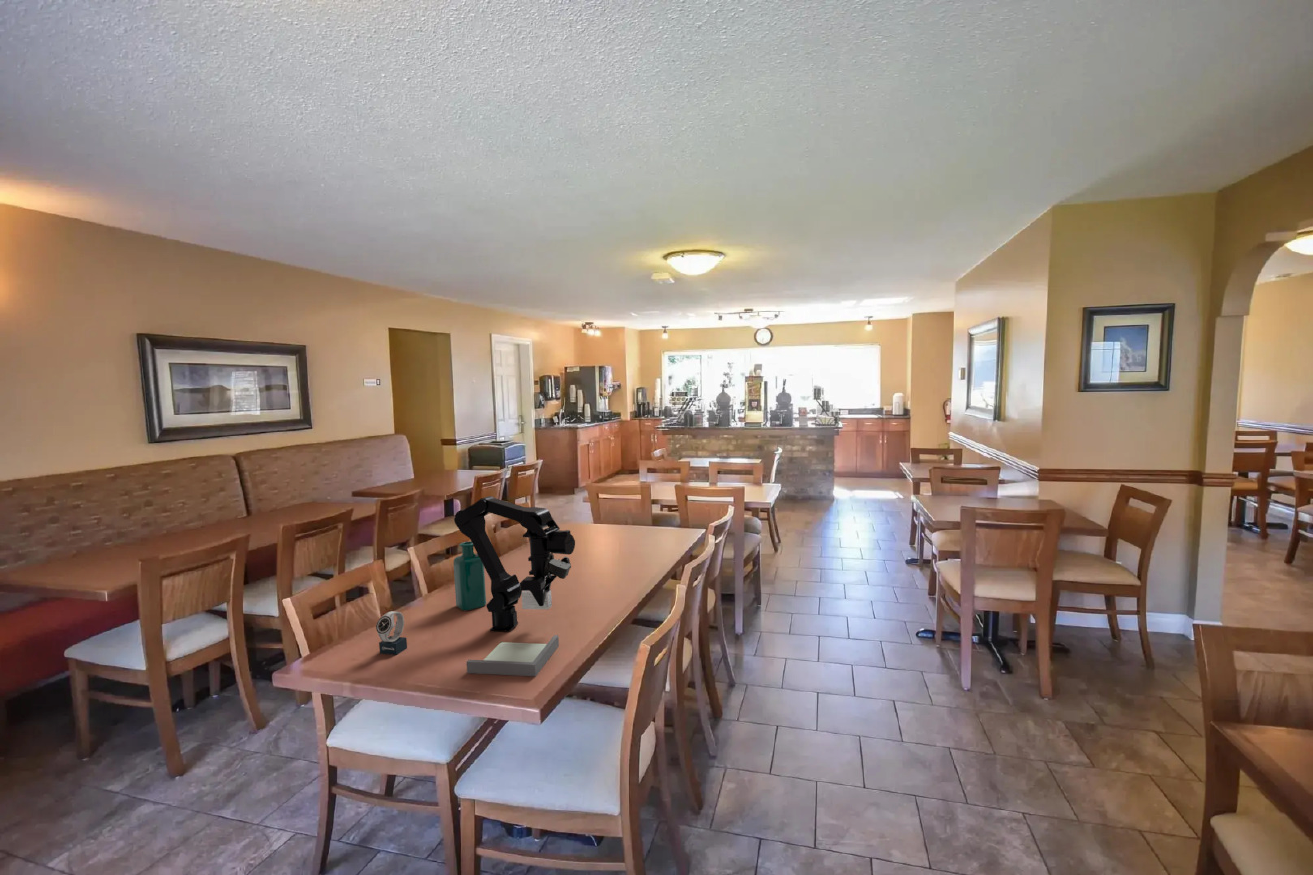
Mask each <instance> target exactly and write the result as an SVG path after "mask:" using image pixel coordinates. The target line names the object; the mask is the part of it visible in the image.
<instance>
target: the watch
mask: <svg viewBox="0 0 1313 875" xmlns="http://www.w3.org/2000/svg"><path fill="white" fill-rule="evenodd" d="M395 616H396V622H395V621H394V620H395ZM404 626H405V617H404V614H402V612H400V611H392V610H391V611H388V612H386V613H385V614H384V615H382V616H381V617H380V618H379V619H378V620H377V622H376V625H375V629H376V632H377V635H378V637H379V639H380V640H381V641H379V642H378V647H379V654H382V655H389V656H390V655H393V656H397V655H399V654H401V653H402V652H404V651H405V650H407V649H408V642H407V641H408V640H407V639H408V638H407V637H403V636H401V635H403V634H402V633H403V631H404ZM393 629H394V630H393ZM392 630H393V635H391V636H390V634H391V632H392Z"/></svg>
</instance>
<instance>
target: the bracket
mask: <svg viewBox="0 0 1313 875" xmlns="http://www.w3.org/2000/svg"><path fill="white" fill-rule="evenodd" d="M521 603H522V604H521V608H522V610H550V609H551V608H552V606H553V604H552V589H551V588H550V589H545V592H544V603H543V606H539V605H538V603H537V601H536V600H535V598H534V596H533V595H532V593H531V592H530V591H522V592H521Z"/></svg>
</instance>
